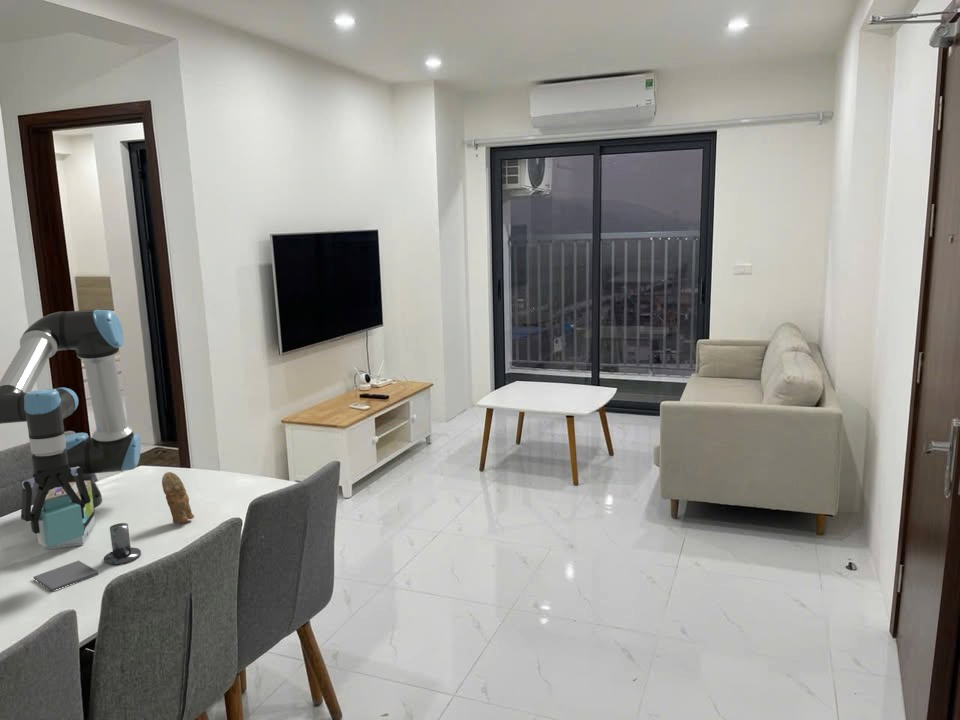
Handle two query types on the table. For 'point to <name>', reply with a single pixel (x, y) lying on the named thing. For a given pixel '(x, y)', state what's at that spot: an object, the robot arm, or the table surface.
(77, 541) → the tea box
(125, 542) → the post
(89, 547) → the table surface
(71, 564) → the pad
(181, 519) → the figurine
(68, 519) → the cap
